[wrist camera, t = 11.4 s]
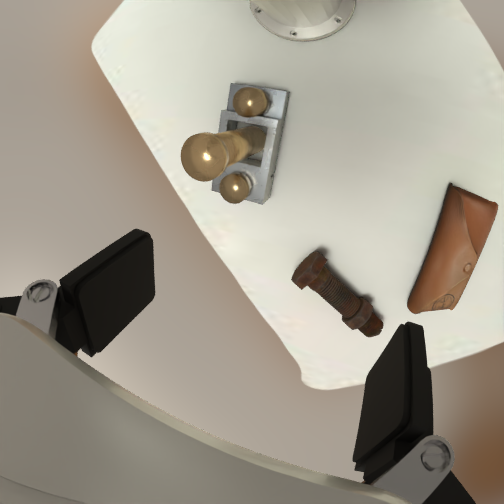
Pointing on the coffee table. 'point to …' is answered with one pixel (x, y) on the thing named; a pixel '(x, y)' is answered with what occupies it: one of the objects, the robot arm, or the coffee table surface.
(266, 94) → the brass knob on bracket
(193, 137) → the link pin
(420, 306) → the sunglasses case
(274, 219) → the coffee table surface
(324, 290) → the bolt
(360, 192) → the coffee table surface
